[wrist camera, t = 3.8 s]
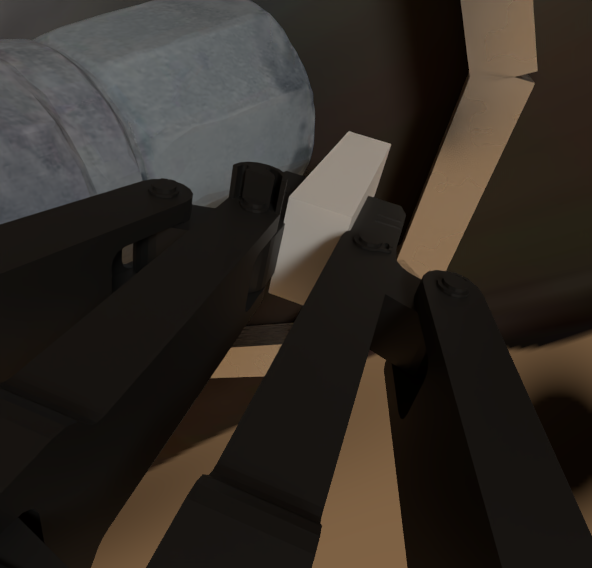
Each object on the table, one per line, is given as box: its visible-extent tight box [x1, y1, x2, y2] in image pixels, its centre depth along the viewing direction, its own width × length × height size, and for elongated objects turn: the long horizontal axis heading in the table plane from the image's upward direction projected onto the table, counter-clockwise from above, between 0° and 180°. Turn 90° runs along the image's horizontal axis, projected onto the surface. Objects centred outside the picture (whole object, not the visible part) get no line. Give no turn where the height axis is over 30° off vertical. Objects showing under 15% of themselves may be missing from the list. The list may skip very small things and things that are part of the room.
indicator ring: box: [211, 0, 537, 378], centre depth 20 cm, size 32×39×5 cm
